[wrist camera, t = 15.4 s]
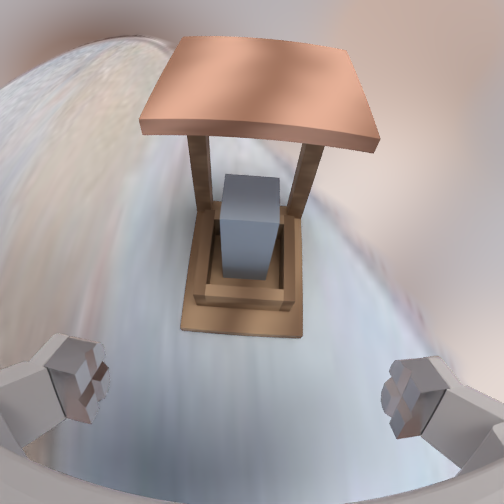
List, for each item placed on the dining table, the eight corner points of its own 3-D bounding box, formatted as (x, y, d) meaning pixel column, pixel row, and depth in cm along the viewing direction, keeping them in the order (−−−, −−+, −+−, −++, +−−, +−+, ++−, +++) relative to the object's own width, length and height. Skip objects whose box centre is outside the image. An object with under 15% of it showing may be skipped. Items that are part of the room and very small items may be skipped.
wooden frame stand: (182, 330, 28) (106, 197, 11) (200, 205, 35) (182, 36, 17) (300, 338, 29) (402, 220, 11) (298, 212, 35) (346, 50, 17)
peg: (223, 277, 30) (219, 218, 21) (226, 240, 32) (225, 174, 23) (265, 280, 30) (279, 223, 21) (266, 243, 32) (279, 177, 23)
